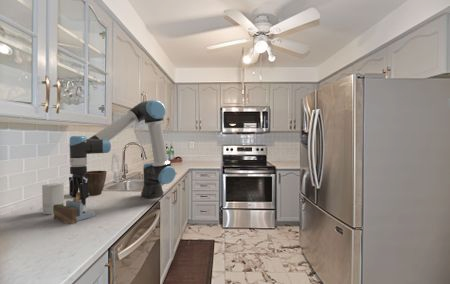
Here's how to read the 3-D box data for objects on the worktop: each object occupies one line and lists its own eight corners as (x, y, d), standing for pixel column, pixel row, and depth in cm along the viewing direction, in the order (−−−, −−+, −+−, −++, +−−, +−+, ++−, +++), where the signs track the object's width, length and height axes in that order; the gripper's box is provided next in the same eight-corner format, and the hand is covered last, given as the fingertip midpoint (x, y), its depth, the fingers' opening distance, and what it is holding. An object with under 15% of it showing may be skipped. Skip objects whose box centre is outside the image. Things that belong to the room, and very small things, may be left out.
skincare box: (51, 214, 136) (51, 185, 135) (41, 214, 137) (40, 185, 137) (64, 210, 144) (64, 182, 143) (54, 209, 145) (54, 182, 145)
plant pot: (90, 191, 190) (90, 170, 189) (110, 192, 190) (110, 170, 189) (78, 196, 175) (78, 173, 174) (100, 196, 175) (100, 173, 174)
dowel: (82, 212, 136) (82, 191, 136) (87, 213, 134) (87, 192, 134) (73, 214, 133) (74, 192, 132) (78, 215, 130) (79, 194, 130)
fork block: (80, 212, 139) (80, 197, 139) (94, 215, 134) (94, 200, 133) (60, 217, 130) (59, 202, 130) (74, 221, 124) (73, 205, 124)
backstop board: (57, 217, 131) (57, 204, 131) (76, 223, 123) (76, 208, 123) (53, 218, 129) (53, 205, 129) (72, 224, 122) (72, 209, 121)
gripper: (60, 165, 133) (61, 209, 134) (82, 167, 124) (82, 215, 125) (75, 164, 140) (75, 206, 140) (96, 166, 131) (96, 211, 131)
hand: (79, 210), depth 133 cm, fingers open, 5 cm apart
